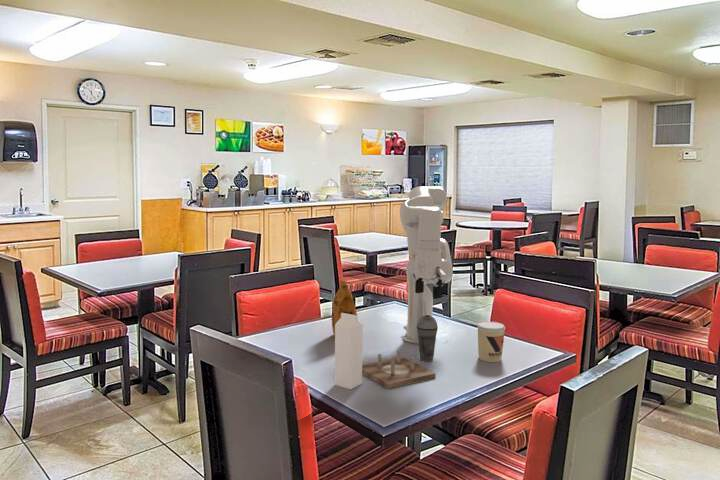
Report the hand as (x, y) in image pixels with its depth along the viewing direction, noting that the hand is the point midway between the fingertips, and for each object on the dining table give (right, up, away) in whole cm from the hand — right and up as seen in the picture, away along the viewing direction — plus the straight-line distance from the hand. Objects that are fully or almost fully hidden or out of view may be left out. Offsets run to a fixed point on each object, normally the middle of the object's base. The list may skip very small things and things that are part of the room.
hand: (428, 295), depth 193 cm
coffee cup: (+22, -23, +5) cm, 32 cm away
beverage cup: (0, -23, +3) cm, 23 cm away
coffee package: (-29, -19, +28) cm, 45 cm away
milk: (-27, -26, -19) cm, 42 cm away
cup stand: (-12, -24, -10) cm, 29 cm away
